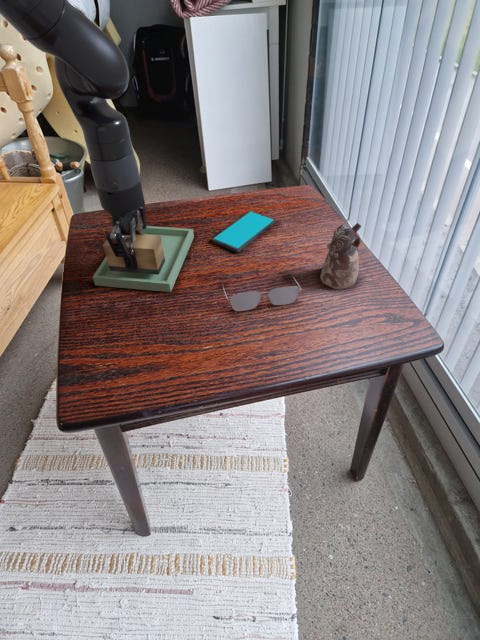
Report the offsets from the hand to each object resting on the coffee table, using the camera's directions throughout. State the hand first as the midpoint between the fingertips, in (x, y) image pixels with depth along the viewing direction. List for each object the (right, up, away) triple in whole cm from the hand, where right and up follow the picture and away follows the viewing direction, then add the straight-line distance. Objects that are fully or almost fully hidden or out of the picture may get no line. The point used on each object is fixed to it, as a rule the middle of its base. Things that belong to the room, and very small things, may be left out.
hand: (136, 260), depth 83 cm
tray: (+1, +1, +7) cm, 7 cm away
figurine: (+40, -3, +1) cm, 40 cm away
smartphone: (+22, +8, +14) cm, 27 cm away
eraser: (0, -1, +1) cm, 1 cm away
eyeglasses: (+24, -7, -2) cm, 25 cm away
